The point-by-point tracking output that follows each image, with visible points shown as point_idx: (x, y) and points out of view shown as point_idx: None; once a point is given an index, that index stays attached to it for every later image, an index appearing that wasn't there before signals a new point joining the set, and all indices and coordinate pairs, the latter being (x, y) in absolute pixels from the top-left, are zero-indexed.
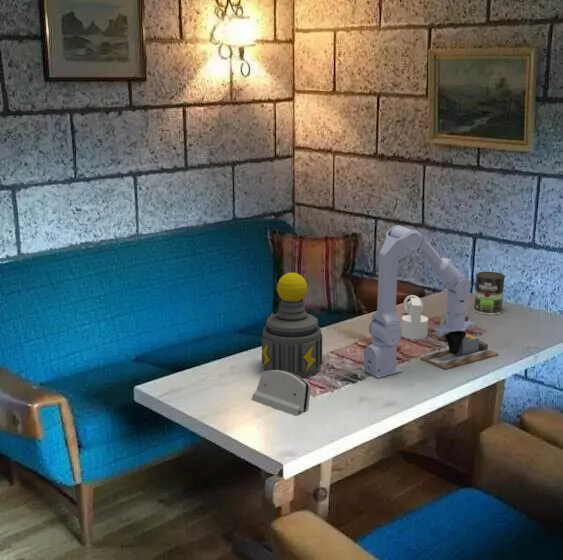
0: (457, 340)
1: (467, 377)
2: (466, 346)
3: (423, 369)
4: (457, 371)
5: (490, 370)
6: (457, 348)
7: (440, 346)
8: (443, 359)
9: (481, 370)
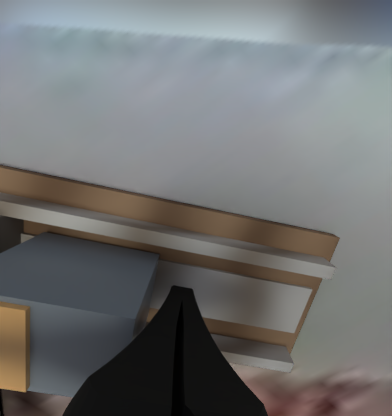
0: (198, 361)
1: (363, 93)
2: (112, 284)
3: (379, 297)
4: (313, 181)
5: (183, 54)
6: (178, 305)
7: None
8: (248, 298)
9: (219, 95)
